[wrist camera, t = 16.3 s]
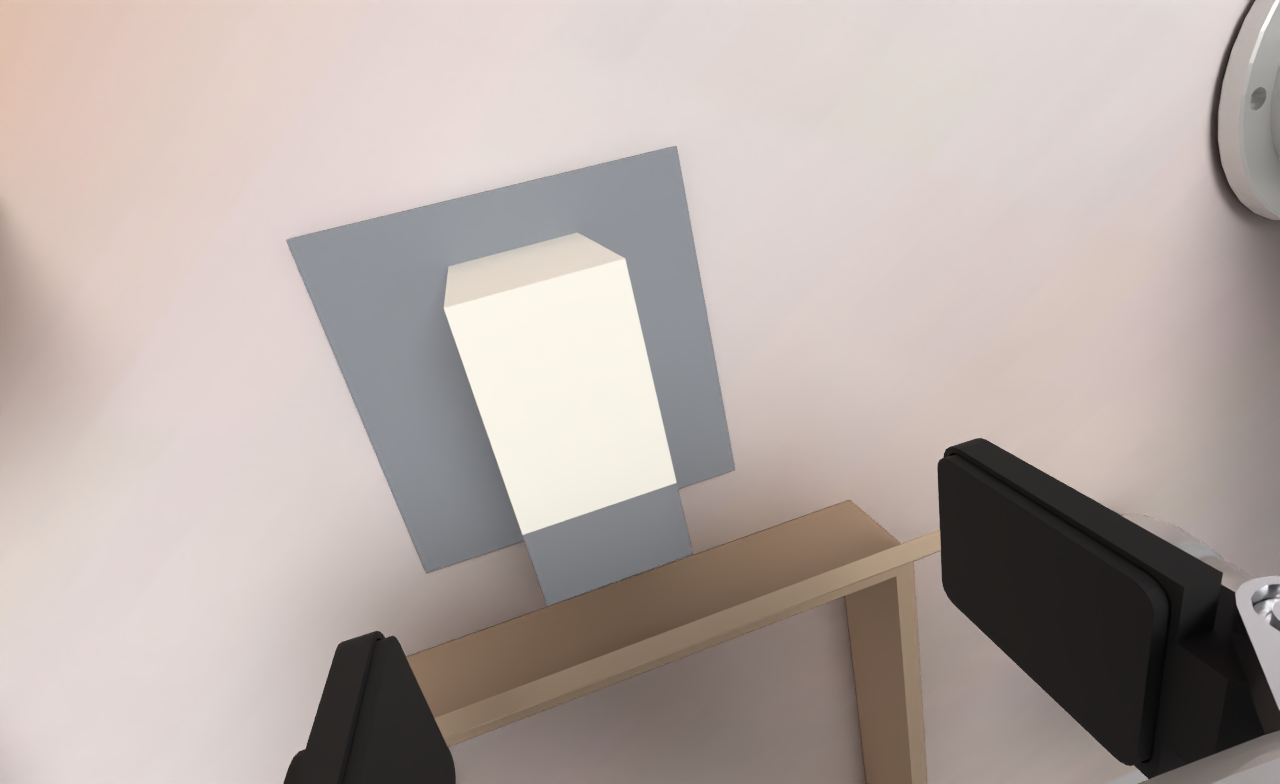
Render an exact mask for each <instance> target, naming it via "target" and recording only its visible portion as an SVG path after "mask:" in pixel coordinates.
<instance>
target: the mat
mask: <svg viewBox="0 0 1280 784" xmlns="http://www.w3.org/2000/svg"><path fill="white" fill-rule="evenodd" d="M577 232H578V233H579V234H581V235H583V236H585V237H587V238H589V239H590V240H592V241H594V242H596V243H598V244H600V245H601V246H603V247H605V248H607V249H609V250H611V251H613V252H614V253H616V254H618V255H620V256H622V257H624V258H625V260H626V264H627V268H628V273H629V277H630V281H631V286H632V290H633V295H634V299H635V303H636V308H637V312H638V316H639V321H640V325H641V329H642V334H643V338H644V343H645V347H646V351H647V356H648V360H649V364H650V369H651V373H652V377H653V382H654V386H655V391H656V395H657V399H658V404H659V408H660V412H661V417H662V421H663V425H664V430H665V434H666V439H667V443H668V447H669V452H670V456H671V460H672V465H673V469H674V473H675V478H676V482H677V487H678V489H680V488H683V487H686V486H689V485H692V484H695V483H698V482H701V481H704V480H707V479H710V478H713V477H716V476H719V475H722V474H725V473H728V472H731V471H734V470H735V466H734V461H733V455H732V450H731V444H730V439H729V433H728V428H727V422H726V417H725V411H724V405H723V400H722V394H721V389H720V383H719V378H718V372H717V367H716V361H715V356H714V350H713V344H712V339H711V333H710V328H709V322H708V317H707V311H706V306H705V300H704V295H703V289H702V284H701V278H700V272H699V267H698V261H697V256H696V250H695V245H694V239H693V234H692V228H691V223H690V217H689V211H688V206H687V200H686V195H685V189H684V184H683V178H682V173H681V167H680V162H679V156H678V151H677V146H673V147H669V148H665V149H661V150H657V151H652V152H648V153H644V154H640V155H636V156H632V157H627V158H623V159H619V160H615V161H611V162H607V163H602V164H598V165H594V166H590V167H586V168H582V169H578V170H573V171H569V172H565V173H561V174H557V175H553V176H548V177H544V178H540V179H536V180H532V181H528V182H523V183H519V184H515V185H511V186H507V187H503V188H498V189H494V190H490V191H486V192H482V193H478V194H473V195H469V196H465V197H461V198H457V199H453V200H449V201H444V202H440V203H436V204H432V205H428V206H424V207H419V208H415V209H411V210H407V211H403V212H399V213H394V214H390V215H386V216H382V217H378V218H374V219H369V220H365V221H361V222H357V223H353V224H349V225H345V226H340V227H336V228H332V229H328V230H324V231H320V232H315V233H311V234H307V235H303V236H299V237H295V238H290V239H288V240H286V241H287V243H288V246H289V248H290V250H291V253H292V255H293V258H294V260H295V262H296V265H297V267H298V269H299V272H300V274H301V277H302V279H303V281H304V284H305V286H306V289H307V291H308V293H309V296H310V298H311V300H312V303H313V305H314V308H315V310H316V312H317V315H318V317H319V319H320V322H321V324H322V327H323V329H324V331H325V334H326V336H327V339H328V341H329V343H330V346H331V348H332V350H333V353H334V355H335V358H336V360H337V362H338V365H339V367H340V370H341V372H342V374H343V377H344V379H345V381H346V384H347V386H348V389H349V391H350V393H351V396H352V398H353V400H354V403H355V405H356V408H357V410H358V412H359V415H360V417H361V420H362V422H363V424H364V427H365V429H366V431H367V434H368V436H369V439H370V441H371V443H372V446H373V448H374V451H375V453H376V455H377V458H378V460H379V462H380V465H381V467H382V470H383V472H384V474H385V477H386V479H387V481H388V484H389V486H390V489H391V491H392V493H393V496H394V498H395V501H396V503H397V505H398V508H399V510H400V512H401V515H402V517H403V520H404V522H405V524H406V527H407V529H408V532H409V534H410V536H411V539H412V541H413V543H414V546H415V548H416V551H417V553H418V555H419V558H420V560H421V562H422V565H423V567H424V570H425V572H426V573H429V572H432V571H435V570H438V569H441V568H444V567H447V566H450V565H453V564H456V563H459V562H462V561H465V560H468V559H471V558H474V557H477V556H480V555H483V554H486V553H489V552H492V551H495V550H498V549H501V548H504V547H507V546H510V545H513V544H516V543H519V542H522V541H524V538H523V535H522V532H521V529H520V526H519V523H518V521H517V518H516V515H515V512H514V509H513V506H512V503H511V500H510V498H509V495H508V492H507V489H506V486H505V483H504V480H503V477H502V475H501V472H500V469H499V466H498V463H497V460H496V457H495V454H494V452H493V449H492V446H491V443H490V440H489V437H488V434H487V431H486V429H485V426H484V423H483V420H482V417H481V414H480V411H479V408H478V406H477V403H476V400H475V397H474V394H473V391H472V388H471V385H470V383H469V380H468V377H467V374H466V371H465V368H464V365H463V362H462V360H461V357H460V354H459V351H458V348H457V345H456V342H455V339H454V337H453V334H452V331H451V328H450V325H449V322H448V319H447V316H446V314H445V311H444V301H445V292H446V283H447V275H448V267H449V266H452V265H456V264H460V263H464V262H467V261H471V260H475V259H479V258H483V257H486V256H490V255H494V254H498V253H502V252H505V251H509V250H513V249H517V248H521V247H524V246H528V245H532V244H536V243H539V242H543V241H547V240H551V239H555V238H558V237H562V236H566V235H570V234H574V233H577Z"/></svg>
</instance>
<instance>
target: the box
mask: <svg viewBox="0 0 1280 784" xmlns="http://www.w3.org/2000/svg"><path fill="white" fill-rule="evenodd" d="M444 311H445V314H446V316H447V319H448V322H449V325H450V328H451V331H452V334H453V337H454V339H455V342H456V345H457V348H458V351H459V354H460V357H461V360H462V362H463V365H464V368H465V371H466V374H467V377H468V380H469V383H470V385H471V388H472V391H473V394H474V397H475V400H476V403H477V406H478V408H479V411H480V414H481V417H482V420H483V423H484V426H485V429H486V431H487V434H488V437H489V440H490V443H491V446H492V449H493V452H494V454H495V457H496V460H497V463H498V466H499V469H500V472H501V475H502V477H503V480H504V483H505V486H506V489H507V492H508V495H509V498H510V500H511V503H512V506H513V509H514V512H515V515H516V518H517V521H518V523H519V526H520V529H521V532H522V535H523V538H524V541H525V544H526V546H527V549H528V552H529V555H530V558H531V561H532V564H533V567H534V569H535V572H536V575H537V578H538V581H539V584H540V587H541V590H542V593H543V595H544V598H545V601H546V604H547V606H550V605H552V604H555V603H558V602H561V601H564V600H566V599H569V598H572V597H575V596H577V595H580V594H583V593H586V592H589V591H591V590H594V589H597V588H600V587H602V586H605V585H608V584H611V583H614V582H616V581H619V580H622V579H625V578H627V577H630V576H633V575H636V574H639V573H641V572H644V571H647V570H650V569H652V568H655V567H658V566H661V565H664V564H666V563H669V562H672V561H675V560H678V559H680V558H683V557H686V556H689V555H691V554H693V552H692V548H691V543H690V539H689V534H688V530H687V526H686V521H685V517H684V513H683V508H682V504H681V500H680V495H679V491H678V487H677V482H676V478H675V473H674V469H673V465H672V460H671V456H670V452H669V447H668V443H667V439H666V434H665V430H664V425H663V421H662V417H661V412H660V408H659V404H658V399H657V395H656V391H655V386H654V382H653V377H652V373H651V369H650V364H649V360H648V356H647V351H646V347H645V343H644V338H643V334H642V329H641V325H640V321H639V316H638V312H637V308H636V303H635V299H634V295H633V290H632V286H631V281H630V277H629V273H628V268H627V264H626V260H625V258H624V257H622V256H620V255H618V254H616V253H614V252H613V251H611V250H609V249H607V248H605V247H603V246H601V245H600V244H598V243H596V242H594V241H592V240H590V239H589V238H587V237H585V236H583V235H581V234H579V233H578V232H577V233H574V234H570V235H566V236H562V237H558V238H555V239H551V240H547V241H543V242H539V243H536V244H532V245H528V246H524V247H521V248H517V249H513V250H509V251H505V252H502V253H498V254H494V255H490V256H486V257H483V258H479V259H475V260H471V261H467V262H464V263H460V264H456V265H452V266H449V267H448V275H447V283H446V292H445V301H444Z"/></svg>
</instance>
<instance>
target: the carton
mask: <svg viewBox="0 0 1280 784" xmlns="http://www.w3.org/2000/svg"><path fill="white" fill-rule="evenodd" d="M939 551H941V540H940V530H938V531H935V532H933V533H930V534H927V535H925V536H922V537H919V538H917V539H914V540H911V541H909V542H906V543H903V544H901V543H900V542H899V541H898V540H897V539H895V538H894V537H893V536H892V535H891V534H889V533H888V532H887V531H886V530H885V529H884V528H882V527H881V526H880V525H879V524H878V523H877V522H875V521H874V520H873V519H872V518H871V517H869V516H868V515H867V514H866V513H865V512H864V511H862V510H861V509H860V508H859V507H858V506H857V505H855V504H854V503H853V502H852V501H851V500H848V501H845V502H842V503H840V504H837V505H834V506H831V507H828V508H826V509H823V510H820V511H817V512H814V513H811V514H809V515H806V516H803V517H800V518H797V519H794V520H792V521H789V522H786V523H783V524H780V525H778V526H775V527H772V528H769V529H766V530H763V531H761V532H758V533H755V534H752V535H749V536H747V537H744V538H741V539H738V540H735V541H732V542H730V543H727V544H724V545H721V546H718V547H715V548H713V549H710V550H707V551H704V552H701V553H699V554H696V555H693V556H690V557H687V558H684V559H682V560H679V561H676V562H673V563H670V564H668V565H665V566H662V567H659V568H656V569H653V570H651V571H648V572H645V573H642V574H639V575H636V576H634V577H631V578H628V579H625V580H622V581H620V582H617V583H614V584H611V585H608V586H605V587H603V588H600V589H597V590H594V591H591V592H589V593H586V594H583V595H580V596H577V597H574V598H572V599H569V600H566V601H563V602H560V603H557V604H555V605H552V606H549V607H546V608H543V609H541V610H538V611H535V612H532V613H529V614H526V615H524V616H521V617H518V618H515V619H512V620H510V621H507V622H504V623H501V624H498V625H495V626H493V627H490V628H487V629H484V630H481V631H478V632H476V633H473V634H470V635H467V636H464V637H462V638H459V639H456V640H453V641H450V642H447V643H445V644H442V645H439V646H436V647H433V648H431V649H428V650H425V651H422V652H419V653H416V654H414V655H411V656H408V657H406V658H407V660H408V663H409V665H410V667H411V669H412V671H413V673H414V675H415V678H416V680H417V682H418V684H419V686H420V688H421V690H422V693H423V695H424V697H425V699H426V701H427V703H428V706H429V708H430V710H431V712H432V714H433V716H434V718H435V721H436V723H437V725H438V727H439V729H440V731H441V734H442V736H443V738H444V740H445V742H446V744H447V746H448V747H450V746H452V745H455V744H458V743H460V742H463V741H466V740H468V739H471V738H473V737H476V736H479V735H481V734H484V733H486V732H489V731H492V730H494V729H497V728H500V727H502V726H505V725H507V724H510V723H513V722H515V721H518V720H521V719H523V718H526V717H528V716H531V715H534V714H536V713H539V712H542V711H544V710H547V709H549V708H552V707H555V706H557V705H560V704H562V703H565V702H568V701H570V700H573V699H576V698H578V697H581V696H583V695H586V694H589V693H591V692H594V691H597V690H599V689H602V688H604V687H607V686H610V685H612V684H615V683H618V682H620V681H623V680H625V679H628V678H631V677H633V676H636V675H639V674H641V673H644V672H646V671H649V670H652V669H654V668H657V667H659V666H662V665H665V664H667V663H670V662H673V661H675V660H678V659H680V658H683V657H686V656H688V655H691V654H694V653H696V652H699V651H701V650H704V649H707V648H709V647H712V646H715V645H717V644H720V643H722V642H725V641H728V640H730V639H733V638H735V637H738V636H741V635H743V634H746V633H749V632H751V631H754V630H756V629H759V628H762V627H764V626H767V625H770V624H772V623H775V622H777V621H780V620H783V619H785V618H788V617H791V616H793V615H796V614H798V613H801V612H804V611H806V610H809V609H812V608H814V607H817V606H819V605H822V604H825V603H827V602H830V601H832V600H835V599H838V598H840V597H843V596H845V601H846V610H847V619H848V627H849V636H850V644H851V653H852V662H853V670H854V679H855V688H856V696H857V705H858V714H859V722H860V731H861V739H862V748H863V757H864V765H865V774H866V783H867V784H927V769H926V754H925V738H924V722H923V706H922V690H921V675H920V659H919V643H918V627H917V612H916V596H915V580H914V564H913V562H914V561H917V560H919V559H922V558H924V557H927V556H929V555H931V554H934V553H936V552H939Z"/></svg>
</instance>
